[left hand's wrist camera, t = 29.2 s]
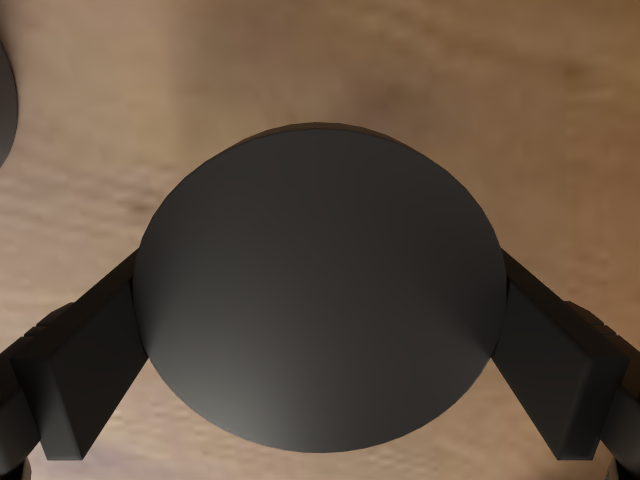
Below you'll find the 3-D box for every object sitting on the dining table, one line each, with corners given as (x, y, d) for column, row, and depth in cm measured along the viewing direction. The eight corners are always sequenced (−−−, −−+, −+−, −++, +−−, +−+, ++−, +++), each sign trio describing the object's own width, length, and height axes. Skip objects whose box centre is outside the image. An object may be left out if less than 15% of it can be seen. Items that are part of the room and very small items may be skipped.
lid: (187, 410, 14) (167, 456, 12) (128, 127, 10) (88, 133, 8) (460, 405, 14) (480, 450, 12) (503, 117, 10) (542, 121, 8)
